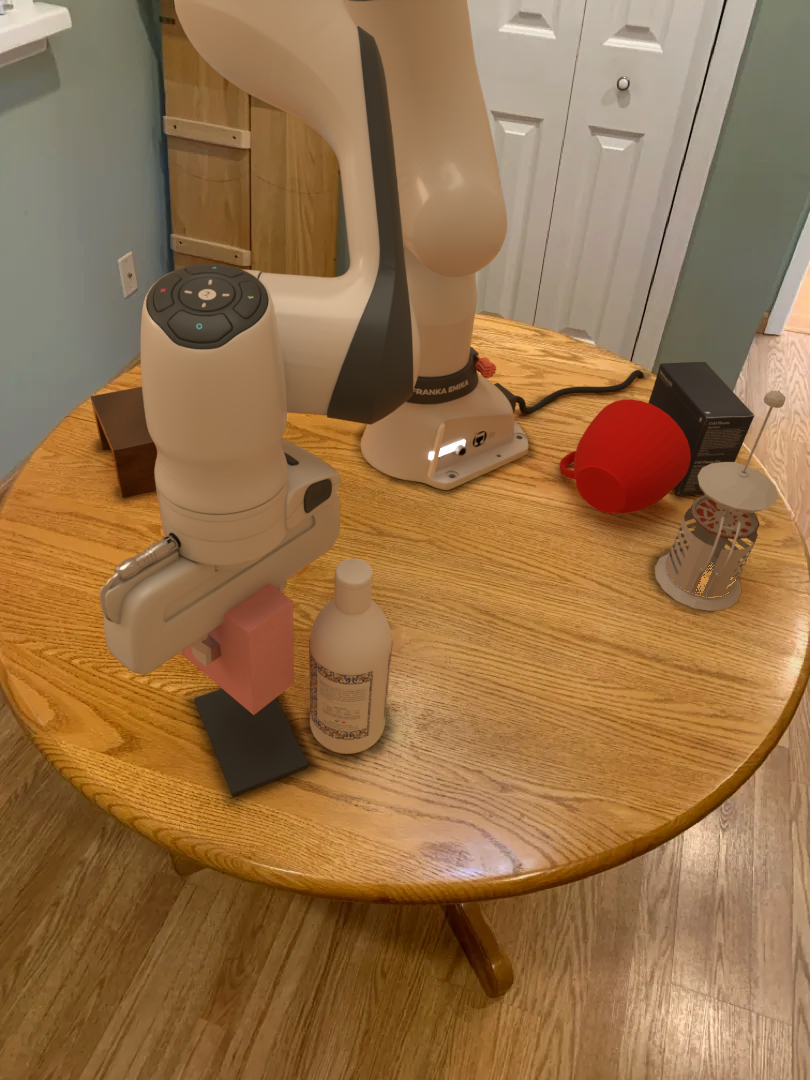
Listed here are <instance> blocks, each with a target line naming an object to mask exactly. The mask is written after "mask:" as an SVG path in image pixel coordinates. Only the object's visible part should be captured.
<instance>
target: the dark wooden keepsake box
mask: <svg viewBox="0 0 810 1080" xmlns="http://www.w3.org/2000/svg"><path fill="white" fill-rule="evenodd" d="M90 401H91V405H92V411H93V415H94V421H95V424H96V430H97V435H98V439H99V444H100V446H101V448H102V451H103V450H107V449H110V451H111V454H112V459H113V464H114V469H115V473H116V478H117V479H116V480H117V484H118V489H119V492H120V495H121V497H122V499H125V498H130V497H133V496H137V495H143V494H146V493H150V492H154V491H157V490H156V483H155V473H154V469H155V463H156V458H157V448H156V445H155V443H154V442H153V440H152V438H151V436H150V434H149V431H148V428H147V423H146V417H145V410H144V402H143V392H142V386H138V387H131V388H127V389H122V390H116V391H111V392H106V393H101V394H96V395H90Z"/></svg>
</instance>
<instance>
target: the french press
mask: <svg viewBox="0 0 810 1080" xmlns="http://www.w3.org/2000/svg"><path fill="white" fill-rule="evenodd" d="M785 402H786V396H785V395H784V394H783V393H782V392H781V391H780V390H770V391H768V392H767V393H765V395H764V397H763V403H764V404H765V405H766V406H768V407H769V408H768V411H767V413H766V416H765V418H764V420H763V423H762V425H761V428H760V430H759V432H758V435H757V436H756V439H755V442H754V444H753V446H752V448H751V450H750V453H749V456H748V458H747V460H746V463H745V464H742V463H740V462H737V461H735V462H720V463H711V464H709V465H707V466H705V467H703V468H702V469H701V471H700V472H699V474H698V480H699V486H700V488H701V490H702V491H703V492H704V493H703V494H704V495H701V496H699V497H697V498H695V499H694V500H693V502H692V504H691V506H690V507H689V508H688V509H687V511H686V512H685V513H684V515H683V517H682V520H681V522H680V527H679V528H678V530H677V535H676V536H675V537H674V539H673V540H674V541H673V544H672V545H671V548H670V552H668V553H666V554H665V555H662V556H661V557H659V558H658V560H657V562H656V564H655V566H654V575H655V580H656V582H657V583H658V584H659V586H660V587H661V589H662V591H664V592H665V594H668V596H669V597H671V598H672V599H673V600H675V601H676V602H678V603H679V604H683V605H685V606H687V607H689V608H692V609H695V610H702V611H709V612H714V611H721V610H727V609H729V608H730V607H732V606H733V605H735V604H736V603H738V602H739V599H740V596H741V594H742V588H741V583H740V579H739V578H740V576H741V574H742V571H743V569H744V567H745V565H746V563H747V560H748V559H749V557H750V554H751V552H752V550H753V548H754V546H755V545H756V542H757V539H758V536H759V534H758V529H759V527H760V521H759V517H758V515H757V513H755V512H763V511H765V510H768V509H769V508H771V507H772V506H774V505H776V502H777V500H778V498H779V494H778V490H777V487H776V485H775V484H774V483H773V482H772V481H771V479H770V478H769V477H768V476H766V475H765V474H764V473H762V472H761V471H760V470H758V469H756V468H754V467H750V466H749V464H750V461H751V460H752V457H753V455H754V452H755V450H756V447H757V446H758V443H759V441H760V438H761V436H762V434H763V432H764V430H765V427H766V424H767V422H768V420H769V418H770V415H771V413H772V410H773V408H775V409H781V408H782V407H784V405H785ZM692 520H694V521H695V522H691V523H688V524H686V522H688V521H692ZM692 528H694V529H693V530H690V529H692ZM681 532H682V533H681ZM683 538H685V539H683ZM743 539H747V540H748V541H750V542H751V543H752V544H751V545H749V544H748V543H746V542H745V541H743ZM731 540H733V541H731ZM736 543H737V544H738V545H739V546H740V547H742V548H738V547H737V546H736ZM686 545H687V546H686ZM726 545H727V546H728V547H729V548H730V549H727V548H726ZM680 546H681V547H680ZM741 559H742V560H741ZM711 562H712V563H713V564H712V563H711ZM711 564H712V566H713V565H714V566H713V567H712V566H711V567H712V569H713V570H712V569H711V570H712V573H711V575H710V577H709V580H708V582H707V584H706V586H705V585H704V586H705V589H704V591H703V593H701V596H697V595H700V593H697V592H699V590H698V588H697V586H698V584H700V583H699V582H701V581H700V580H701V577H702V575H703V573H704V572H705V570H706V569H707V568H708V569H709V568H711V567H710V566H709V565H711ZM708 566H709V567H708ZM708 569H707V570H708ZM666 570H667V571H666ZM707 570H706V571H707ZM711 570H710V569H709V570H708V572H709V571H711ZM667 572H668V573H667ZM708 572H707V573H708ZM704 575H705V574H704ZM704 575H703V576H704ZM734 575H735V577H734ZM731 577H734V578H733V579H732V580H730V579H731ZM704 578H705V577H704ZM671 579H672V580H673V581H672V580H671ZM735 579H736V581H735ZM733 581H735V582H734V583H733V584H732V585H731V586H729V587H728V588H727V586H728V585H729V584H731V583H732V582H733ZM677 585H678V586H677ZM680 587H681V588H680ZM700 587H701V586H700ZM726 588H727V589H726ZM696 589H697V591H696ZM699 589H700V588H699ZM684 590H686V591H684ZM687 591H689V592H687ZM695 592H696V593H695ZM700 592H701V590H700ZM728 592H729V593H728ZM692 593H693V594H692ZM727 593H728V594H727ZM695 594H697V595H695ZM725 594H726V595H725ZM723 595H724V596H723ZM702 596H704V597H705V598H704V597H702ZM714 596H722V597H715V598H708V597H714ZM706 597H707V598H706Z"/></svg>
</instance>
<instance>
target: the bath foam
mask: <svg viewBox="0 0 810 1080" xmlns="http://www.w3.org/2000/svg"><path fill="white" fill-rule="evenodd" d="M373 574H374V573H373V568H372V566H371V565H370V563H368V562H367V561H365V560H364V559H361V558H355V557H351V558H346V559H343V560H341V561H340V562H338V563H337V565H336V566H335V569H334V591H333V593H334V597H332V599H330V601H328V602H327V603H326V604H325V605H324V606H323V607H322V608H321V609H320V610H319V611H318V613H317V615H316V617H315V619H314V620H313V623H312V626H311V629H310V634H309V638H308V660H309V661H308V666H309V667H308V672H309V673H308V676H309V677H308V678H309V679H308V681H309V688H308V689H309V725H310V730H311V733H312V735H313V737H314V738H315V740H316V741H317V742H318V743H319V744H320V745H321V746H323V747H324V748H326V749H327V750H329V751H331V752H334V753H336V754H337V753H338V754H345V755H351V754H357V753H361V752H364V751H366V750H368V749H369V748H371V747H372V746H374V745H375V744H376V743H377V742H378V741H379V740H380V738H381V737H382V735H383V732H384V730H385V727H386V717H387V708H388V697H389V688H390V687H389V686H390V677H391V676H390V674H391V664H392V652H393V636H392V630H391V626H390V623H389V620H388V618H387V616H386V614H385V612H384V611H383V610H382V609H381V607H380V606H379V605H378V604H377V603H376V602H375V601H374V600H373V599H372V591H373Z"/></svg>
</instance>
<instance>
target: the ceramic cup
mask: <svg viewBox="0 0 810 1080" xmlns="http://www.w3.org/2000/svg"><path fill="white" fill-rule="evenodd" d="M690 460H691V456H690V448H689V444H688V441H687V439H686V437H685V435H684V433H683V431H682V430H681V428H680V427H679V426H678V424H677V423H676V422H675V421H674V420H673V419H672V418H671V417H670V416H669V415H668V414H666V413H665V412H664V411H662V410H661V409H659V408H657V407H656V406H654V405H652V404H649V402H646V401H643V400H638V399H632V398H628V399H627V398H626V399H619V400H615V401H613V402H611V403H609V404H607V405H605V406H604V407H603V408H602V409H601V410H600V411H599V412H598V413H597V414H596V416H595V417H594V418H593V419H592V420H591V421H590V423H589V425H588V426H587V427H586V429H585V431H584V432H583V434H582V436H581V437H580V439H579V441H578V443H577V445H576V450H574V451H571V452H569V453H567V454H566V455H564V456H563V457H562V458H561V459H560V461H559V470H560V473H561V474H562V475H563V476H564V477H565V478H568V479H571V480H574V481H575V487H576V490H577V492H578V494H579V496H580V497H581V498H582V500H583V501H585V503H586V504H587V505H589V506H590V507H591V508H593V509H595V510H597V511H599V512H601V513H604V514H619V515H620V514H622V515H623V514H632V513H636V512H640V511H643V510H646V509H648V508H650V507H652V506H653V505H656V504H657V503H658V502H659V501H661V500H662V499H664V498H665V497H666V496H667V495H668V494H670V493H671V492H672V491H674V490H673V489H674V488H675V487H676V486H677V484H678V483H679V482H680V481H681V480H682V479H683V478H684V476H685V475H686V473H687V471H688V469H689V466H690ZM572 464H573V469H570V468H569V466H570V465H572Z"/></svg>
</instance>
